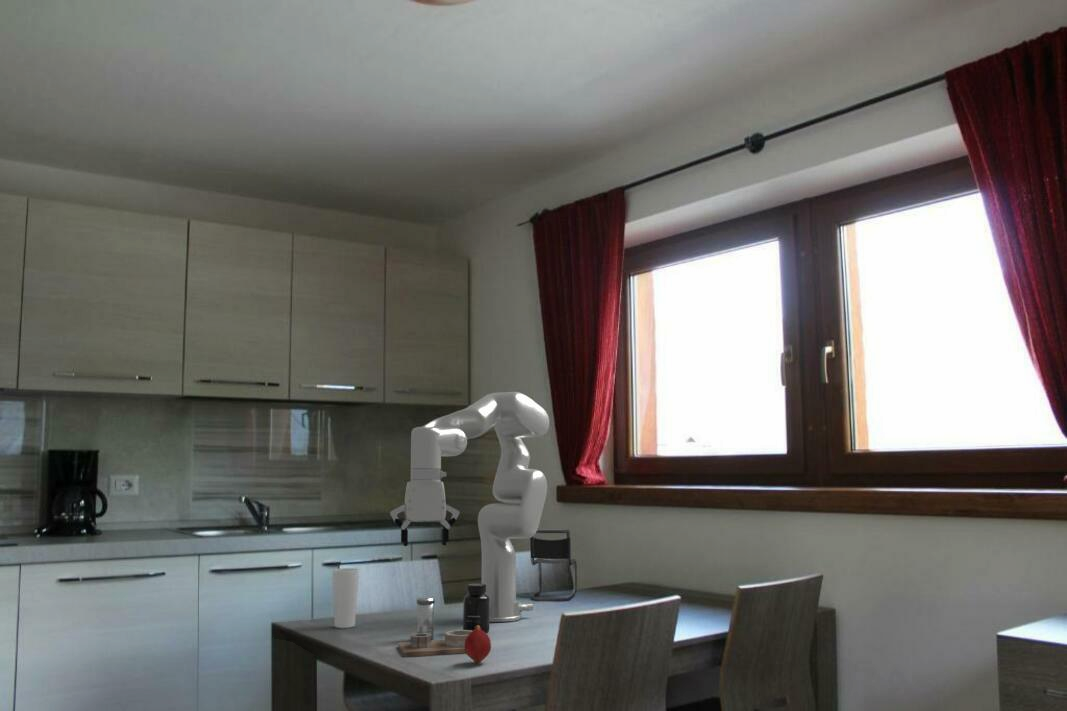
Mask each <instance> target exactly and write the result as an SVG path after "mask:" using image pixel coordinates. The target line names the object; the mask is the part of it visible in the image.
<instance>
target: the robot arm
mask: <svg viewBox="0 0 1067 711" xmlns="http://www.w3.org/2000/svg"><path fill="white" fill-rule="evenodd" d="M549 427H550V417H549V415H548V413H547V411H546V410H545V409H544V407H542V406H541V405H540V404H538V403H537V402H536V401H535V400H533V399H532V398H531V397H529V396H528V395H526V394H524V393H521V392H519V391H507V392H506V391H504V392H503V391H502V392H500V391H499V392H493V393H491V392H490V393H488V394H486V395H484V396H483V397H481V398H479V399H478V400H477V401H475V402H474V403H472V404H470V405H469V406H467V407H465V408H464V409H460V410H457V411H455V412H452V413H450V414H447V415H443V416H441V417H438V418H434V419H433V420H431V421H430V422H428V423H426V424H424V425H422V426H417V427H413V429H412V430H411V432H410V434H411V436H410V445H411V446H410V481H407V482H406V488H405V496H404V504H403V505H401V506H399V507H397V508H395V509H393V510H391V511H390V513H389V514H390V517H392V520H393V522H394V523H395V525H397V526H398V528H400V543H401V544H403V547H408V545H409V544H408V542H409V541H408V540H409V537H408V536H409V535H408V534H409V529H408V528H407V527H408V526H409V525H410V524H411V522H413V523H414V522H415V523H419V522H420V523H421V522H422V523H425V522H427V523H429V522H431V523H432V522H439V523H440V525H441V526H442V528H441V545H443V546H447V543H448V542H449V539H450V538H449V535H450V533H449V531H450V528H451V527H452V526H453V525H454V524H455V523H456V521H457V520H458V517H459V515H460V513H461V512H460V510H458V509H456V508H454V507H452V506H450V505H449V504H447V503H446V491H445V485H444V481H442V478H445V477H446V478H447V471H443V470H442V457H456V456H459V455H461V454H463V453H464V452H465V450H466V448H467V446H468V440H470V439H475V438H477V437H478V438H479V437H481V436H482V435H484V434H485V433H487V432H488V431H490V430H491V429H492V428H493V429H494V431H495V434H496V435H497V436H496V437H497V439H498V441H499V442H498V443H499V445H500V452H501V453H500V459H499V462H498V466H497V470H496V473H495V477H494V480H493V483H492V484H493V485H492V495H493V497H494V498H495V500H497V501H500V502H503V503H498V502H496V503H490V504H487V505H485V506H483V507H481V509H480V510H479V512H478V516H477V525H478V526H477V527H478V532H479V536H480V537H479V538H480V544H481V584H486V592H485V594H486V595H487V596H488V597H489V598H490V623H506V622H507V623H508V622H514V621H519V620H521V619H522V612H525V611H526V612H528V611H529V612H532V611H533V610H534V605H533V603H521V602H519V601H517V580H516V579H517V574H516V573H517V566H516V564H517V563H516V560H517V559H516V558H517V556H516V551H515V547H514V546H513V544H512V542H511V540H510V539H514V540H516V539H517V540H527V539H530V538H531V537H533V536H535V535H536V534H537V533H536V532H537V530H539V526H540V522H541V518H542V514H543V510H544V506H545V502H546V498H547V493H548V481H547V478H546V476H545V473H543V472H542V471H541V470H539V469H534V468H529V465H530V461H531V460H530V459H531V457H530V456H531V455H530V452H529V450H528V448H527V445H525V444H524V442H523V440H522V438H539V437H543V436H544V435H546V434H547V432H548V430H549ZM447 511H448V513H449V512H450V513H451V514H452V516H451V518H449V519H448V520H446V516H447ZM402 512H403V516H404V520H403V521H401V520H400V519H399V517H398V515H399V514H401V513H402Z"/></svg>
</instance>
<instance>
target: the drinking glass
mask: <svg viewBox="0 0 1067 711" xmlns="http://www.w3.org/2000/svg"><path fill="white" fill-rule="evenodd" d="M358 592H359V569H358V568H353V567H352V568H350V567H349V568H348V567H347V568H346V567H344V568H343V567H342V568H336V569H333V571H332V597H333V598H332V600H333V611H334V614H333V616H334V627H335V628H336V629H351V628H354V627H355V626H356V613H357V602H358Z"/></svg>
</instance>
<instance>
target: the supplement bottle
mask: <svg viewBox="0 0 1067 711" xmlns="http://www.w3.org/2000/svg"><path fill="white" fill-rule="evenodd" d="M466 592H467V594H466V595H465V596H464V597H463V603H462V604H463V606H462V609H463V610H462V614H463V615H462V630H471V631H473V630H474V629H475V627H476V626H480V628H481V630H483V631H484V632H485V633H486V634H488V633H489V632H490V623H491V622H490V598H489V597H488V596H487V595H486V594H485V592H486V584H482V583H469V584H467V590H466Z"/></svg>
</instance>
